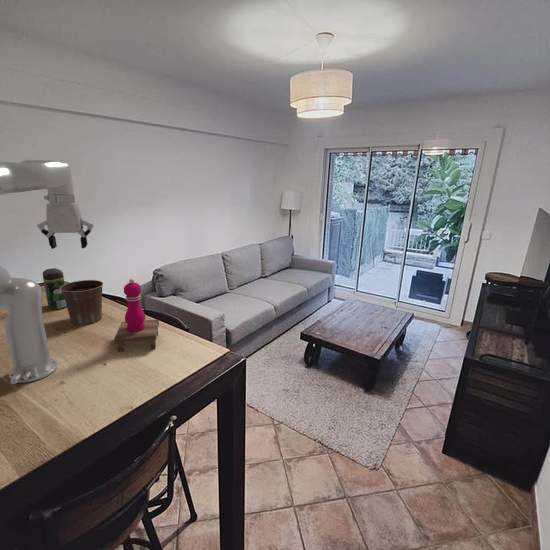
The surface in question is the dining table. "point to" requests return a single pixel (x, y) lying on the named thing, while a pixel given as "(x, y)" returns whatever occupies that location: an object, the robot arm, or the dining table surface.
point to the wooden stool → (137, 335)
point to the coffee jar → (54, 288)
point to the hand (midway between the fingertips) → (69, 247)
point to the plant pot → (83, 301)
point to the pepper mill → (134, 307)
